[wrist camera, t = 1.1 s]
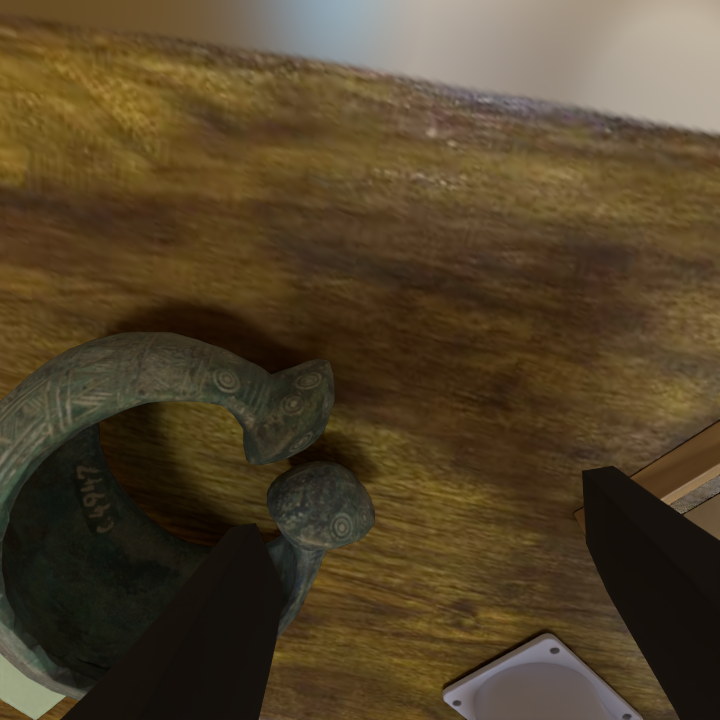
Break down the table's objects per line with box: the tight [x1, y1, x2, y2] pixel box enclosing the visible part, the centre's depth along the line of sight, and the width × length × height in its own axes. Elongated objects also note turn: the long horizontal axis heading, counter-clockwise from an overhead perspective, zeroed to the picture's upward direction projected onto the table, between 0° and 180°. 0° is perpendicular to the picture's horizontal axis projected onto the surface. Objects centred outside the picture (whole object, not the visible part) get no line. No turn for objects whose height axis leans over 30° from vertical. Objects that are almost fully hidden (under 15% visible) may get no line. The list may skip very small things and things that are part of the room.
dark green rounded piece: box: [0, 332, 375, 701], centre depth 18 cm, size 15×15×10 cm
